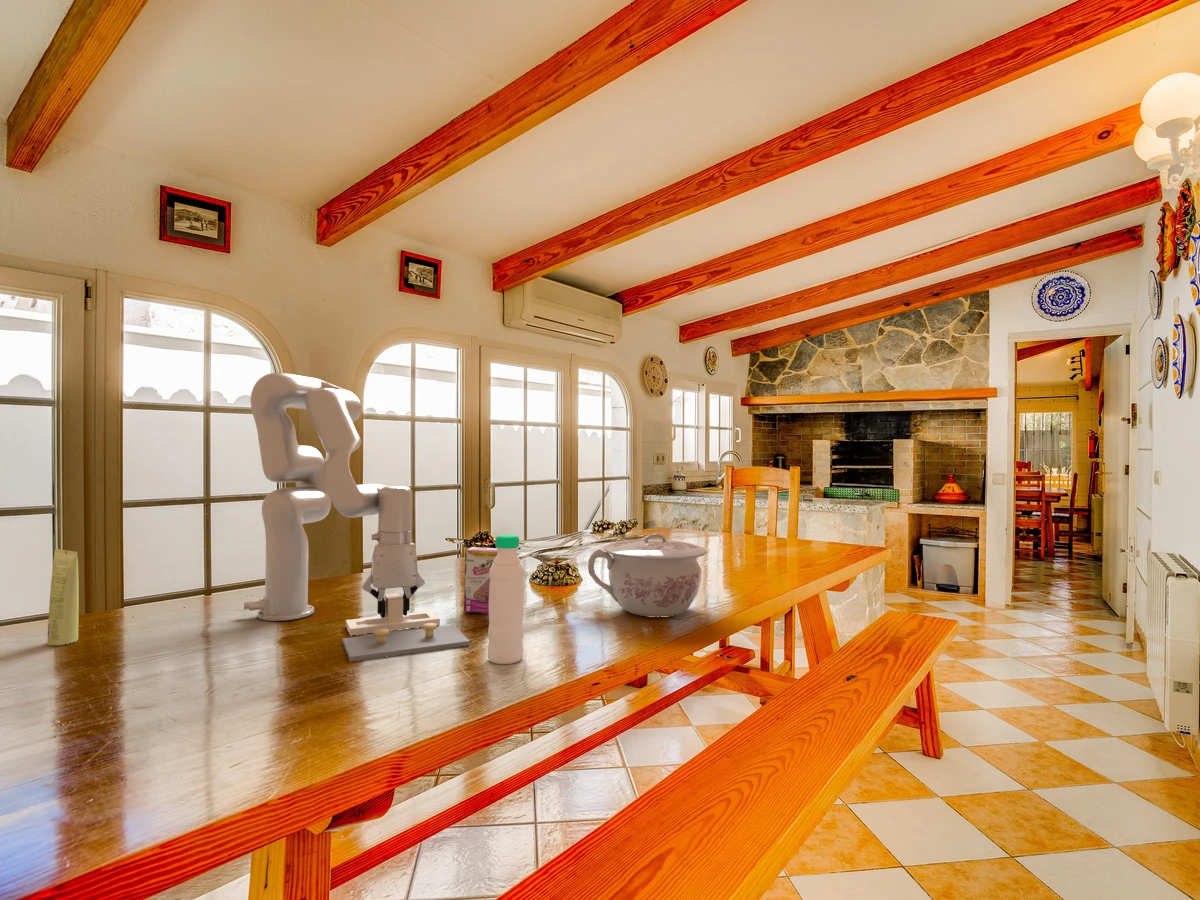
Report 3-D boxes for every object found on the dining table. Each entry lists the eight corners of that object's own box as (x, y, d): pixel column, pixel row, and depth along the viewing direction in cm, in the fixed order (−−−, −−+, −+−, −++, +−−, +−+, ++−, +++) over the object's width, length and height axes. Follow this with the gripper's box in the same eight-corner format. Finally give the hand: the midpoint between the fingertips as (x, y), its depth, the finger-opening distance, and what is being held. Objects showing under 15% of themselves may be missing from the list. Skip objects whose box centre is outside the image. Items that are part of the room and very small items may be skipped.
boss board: (350, 662, 122) (350, 643, 122) (342, 643, 134) (342, 626, 134) (469, 645, 134) (469, 628, 134) (453, 629, 145) (453, 614, 145)
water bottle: (528, 656, 128) (530, 534, 128) (512, 667, 121) (515, 539, 121) (498, 651, 130) (500, 532, 130) (481, 662, 123) (483, 536, 123)
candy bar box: (463, 613, 159) (464, 549, 159) (469, 608, 164) (470, 546, 164) (506, 615, 158) (507, 551, 158) (510, 610, 163) (511, 548, 163)
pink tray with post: (350, 636, 139) (350, 604, 139) (345, 626, 146) (346, 597, 146) (439, 625, 148) (440, 596, 148) (431, 617, 155) (432, 589, 155)
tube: (86, 637, 134) (87, 547, 134) (75, 645, 129) (77, 551, 129) (53, 640, 132) (55, 548, 132) (41, 647, 127) (43, 552, 127)
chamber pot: (722, 608, 169) (723, 532, 169) (678, 632, 146) (680, 544, 146) (632, 593, 184) (633, 524, 184) (580, 613, 161) (581, 534, 161)
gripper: (359, 542, 140) (357, 623, 140) (434, 538, 148) (433, 615, 148) (354, 537, 146) (353, 615, 146) (427, 534, 154) (425, 607, 154)
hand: (393, 614), depth 147 cm, fingers open, 4 cm apart
